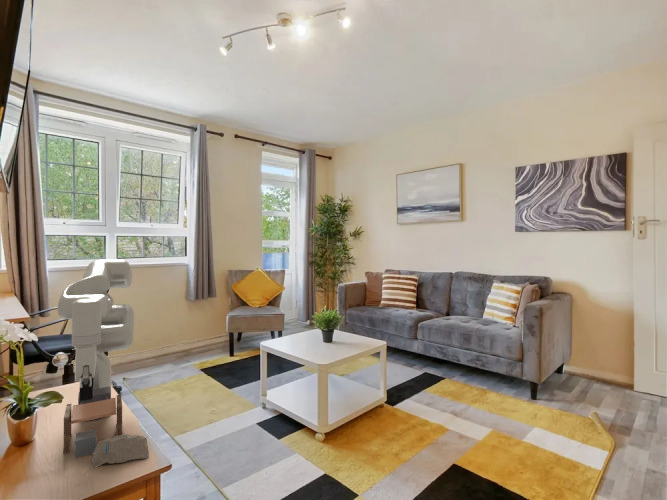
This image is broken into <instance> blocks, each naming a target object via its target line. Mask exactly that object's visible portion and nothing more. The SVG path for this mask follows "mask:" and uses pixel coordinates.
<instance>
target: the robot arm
mask: <svg viewBox="0 0 667 500" xmlns="http://www.w3.org/2000/svg"><path fill="white" fill-rule="evenodd" d="M85 270H86V271H85V272H84V274H83V276H82V278H81V279H79V280H77V281H75V282H73V283H71V284H69V285H67V286H66V287H65V288H64V289H63V291H62V292H61V295H60V296H59V299H58V302H57V307H56V308H57V315H58V316H59V317H60V318H62V319H63V320H71V346H72V347H73V348H75V357H74V358H75V359H74V363H75V365H74V366H75V367H74V368H75V371H74V374H75V375H74V380H75V381H79V392H80V401H84V400H90V399H92V398H93V389H98V388H104V387H110V386H111V387H112V362H111V360H110V358H109V357H108V356H107V354H105V353H106V352H115V351H122V350H123V351H124V350H127V349H129V348H131V346H132V345H133V342H134V335H135V333H134V329H135V313H134V312H135V311H134V309H133V307H132V306H131V305H130V304H123V303H122V304H120V303H119V304H114V303H115V301H114V297H112V296H111V295H110V293H108V290H109V289H110V290H112V289H127V288H129V287H130V286H131V285H132V283H133V271H132V268H131V264H130V263H129V262H128V261H127V260H125V259H97V260H93V261H91V262H90V263H88V265H87V267H86V269H85ZM98 419H99V418H97V419H96V420H98ZM92 420H95V419H92ZM92 420H91V421H92Z"/></svg>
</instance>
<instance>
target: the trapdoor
mask: <svg viewBox="0 0 667 500" xmlns="http://www.w3.org/2000/svg"><path fill="white" fill-rule="evenodd" d="M77 397H78V398H77V399H78V400H77V402H78V403H77V404H75V405H72V407H71V425H73V424H77V423H78V424H79V423H82V422H86V421H87V422H88V421H92V419H94V420H98V419H101V418H107V417H111V416H115V415H116V416H117V397H112V385H111V386H110V387H104V388H98V389H93V398H92V399H90V400H84V401H80V391H78V396H77ZM97 418H98V419H97Z"/></svg>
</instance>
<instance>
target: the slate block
mask: <svg viewBox="0 0 667 500" xmlns="http://www.w3.org/2000/svg"><path fill="white" fill-rule="evenodd" d="M96 446H97V428H93V429H89V430H85V431H79V432H76V434H75V441H74V448H75V449H74V457H75V458H74V459H77V458H79V457H80V458H81V457H83V456H84V457H85V456H89V455H91V454H92V455H93V453H94V451H95V447H96Z"/></svg>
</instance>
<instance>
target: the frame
mask: <svg viewBox="0 0 667 500" xmlns="http://www.w3.org/2000/svg"><path fill="white" fill-rule="evenodd" d="M71 416H72V403H67V404H66V407H65V410H64V416H63V449H62V454H67V453H70V452H71V445H72V438H73V433H72V424H71ZM115 431H116V432H115V433H116V436H119V435H124V433H123V401H122V394H116V424H115Z"/></svg>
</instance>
